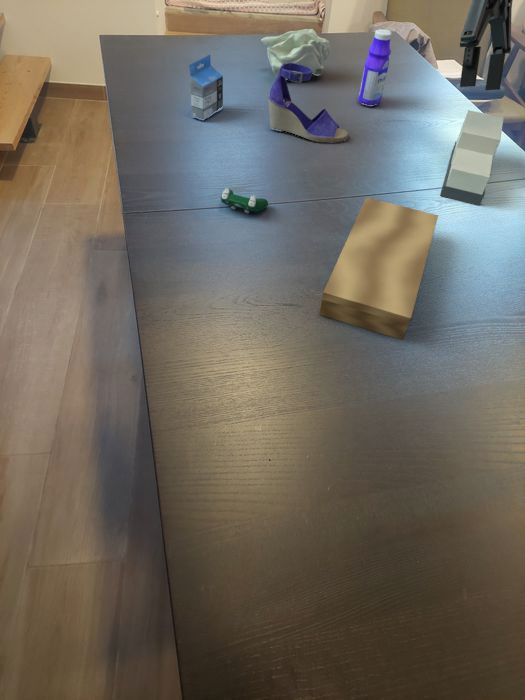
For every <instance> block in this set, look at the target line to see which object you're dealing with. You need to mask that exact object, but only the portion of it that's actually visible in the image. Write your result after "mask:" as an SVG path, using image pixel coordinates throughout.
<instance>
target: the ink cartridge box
mask: <svg viewBox="0 0 525 700" xmlns="http://www.w3.org/2000/svg"><path fill="white" fill-rule="evenodd" d="M211 63H212V62H211V54H208V55H206V56H204V57H202V58H200V59H198V60H196V61H194V62H193V63H190V64H189V65H188V66H189V74H190V75H189V76H190V100H191V101H190V106H191V107H190V108H191V117H192V116H195V117H198V118H201V119H205V118H207V117H208V116H210V115H211V114H213V113H214V112H215V111H217V110H218V109H219V108H221V107H222V106H223V107H224V77H223V75H222V74H221V73H220V72H219V71H217V69H216V68H214V67H213V66H212V64H211ZM200 65H203V66H200ZM199 66H200V67H199ZM198 67H199V68H198Z"/></svg>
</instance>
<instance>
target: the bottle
mask: <svg viewBox="0 0 525 700" xmlns="http://www.w3.org/2000/svg"><path fill="white" fill-rule="evenodd" d="M392 34H393V33H392V31H390V30H388V29H385V28H384V29H383V28H382V29H381V28H379V29H376V30H375V32H374V37H373V41H372V43H371V45H370V47H369V48H368V55H367V57H366V59H365V62H364V67H363V72H362V77H361V82H360V88H359V93H358V99H357V100H358V103H359V102H361V103H364V104H367V105H375V104H377V105H379V104H380V102H381V101H382V98H383V93H384V90H385V89H384V88H385V85H386V79H387V75H388V71H389V66H390V55H391V54H392V51H391V39H392ZM378 103H379V104H378Z"/></svg>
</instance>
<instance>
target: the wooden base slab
mask: <svg viewBox="0 0 525 700" xmlns="http://www.w3.org/2000/svg"><path fill="white" fill-rule="evenodd" d="M438 217H439V215H438V214H435V213H431V212H426V211H423V210H419V209H415V208H411V207H408V206H407V207H406V206H402V205H399V204H395V203H391V202H387V201H383V200H379V199H375V198H371V197H368V196H367V197H365V199H364V201H363V204H362V206H361V208H360V210H359V213H358V215H357V216H356V219H355V221H354V223H353V226H352V228H351V230H350V232H349V234H348V237H347V239H346V240H345V243H344V244H343V245H344V246H343V248H342V250H341V252H340V254H339V256H338V259H337V261H336V263H335V265H334V267H333V270H332V272H331V274H330V276H329V278H328V280H327V283H326V285H325V287H324V290H323V292H322V297H321V301H320V306H319V311H318V315H319V316H322V317H324V318H329V319H332V320H335V321H338V322H342V323H345V324H349V325H351V326H355V327H357V328H361V329H365V330H368V331H371V332H375V333H378V334H381V335H384V336H387V337H391V338H395V339H397V340H401V341H403V340H404V337H405V335H406V332H407V330H408V327H409V326H410V323H411V320H412V316H413V313H414V309H415V306H416V301H417V299H418V295H419V294H418V293H419V290H420V287H421V283H422V278H423V274H424V271H425V267H426V263H427V260H428V256H429V252H430V248H431V245H432V241H433V236H434V234H435V229H436V225H437V221H438Z"/></svg>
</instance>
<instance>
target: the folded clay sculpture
mask: <svg viewBox="0 0 525 700" xmlns="http://www.w3.org/2000/svg"><path fill="white" fill-rule="evenodd" d="M260 41H261V43H263V44H264V45H265V46H267V48H266V51H267V52H266V53H267V59H268V63H269V64H270V67H271V71H272V74H273V75H274V76H275V78H276V79H277V77H278V75H279V72H280V68H281V66H282V64H284V63H285V64H286V63H295V64H300V65H304V66H306V67H309V68H310V69H312V73H314V74H321V75H322V74H323V73H324V71H325V67H324V61H326V60H327V59H328V58H329V55H331V50H332V49H331V44H330V41H329V40H328V39H327V38H323V37H321V36H319V35H318V33H317V32H316V30H314V29H313V28H304V29H300V30H290V31H287V32H285V33H283V34H280V35H277V36H276V35H275V36H265V37H263V38H261V40H260ZM295 72H296V71H295ZM294 74H295V73H294ZM302 74H303V73H302ZM285 79H287V78H285Z"/></svg>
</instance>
